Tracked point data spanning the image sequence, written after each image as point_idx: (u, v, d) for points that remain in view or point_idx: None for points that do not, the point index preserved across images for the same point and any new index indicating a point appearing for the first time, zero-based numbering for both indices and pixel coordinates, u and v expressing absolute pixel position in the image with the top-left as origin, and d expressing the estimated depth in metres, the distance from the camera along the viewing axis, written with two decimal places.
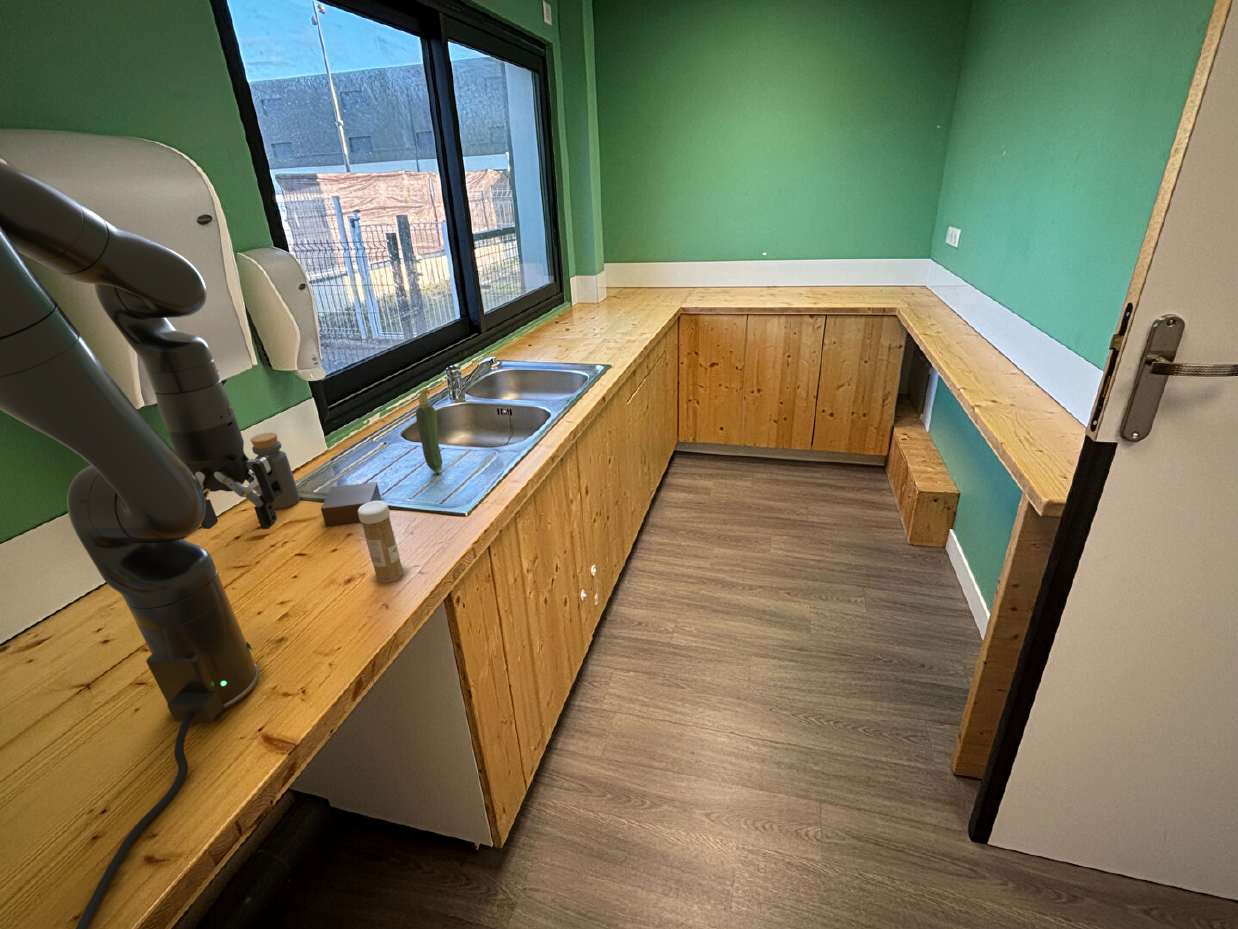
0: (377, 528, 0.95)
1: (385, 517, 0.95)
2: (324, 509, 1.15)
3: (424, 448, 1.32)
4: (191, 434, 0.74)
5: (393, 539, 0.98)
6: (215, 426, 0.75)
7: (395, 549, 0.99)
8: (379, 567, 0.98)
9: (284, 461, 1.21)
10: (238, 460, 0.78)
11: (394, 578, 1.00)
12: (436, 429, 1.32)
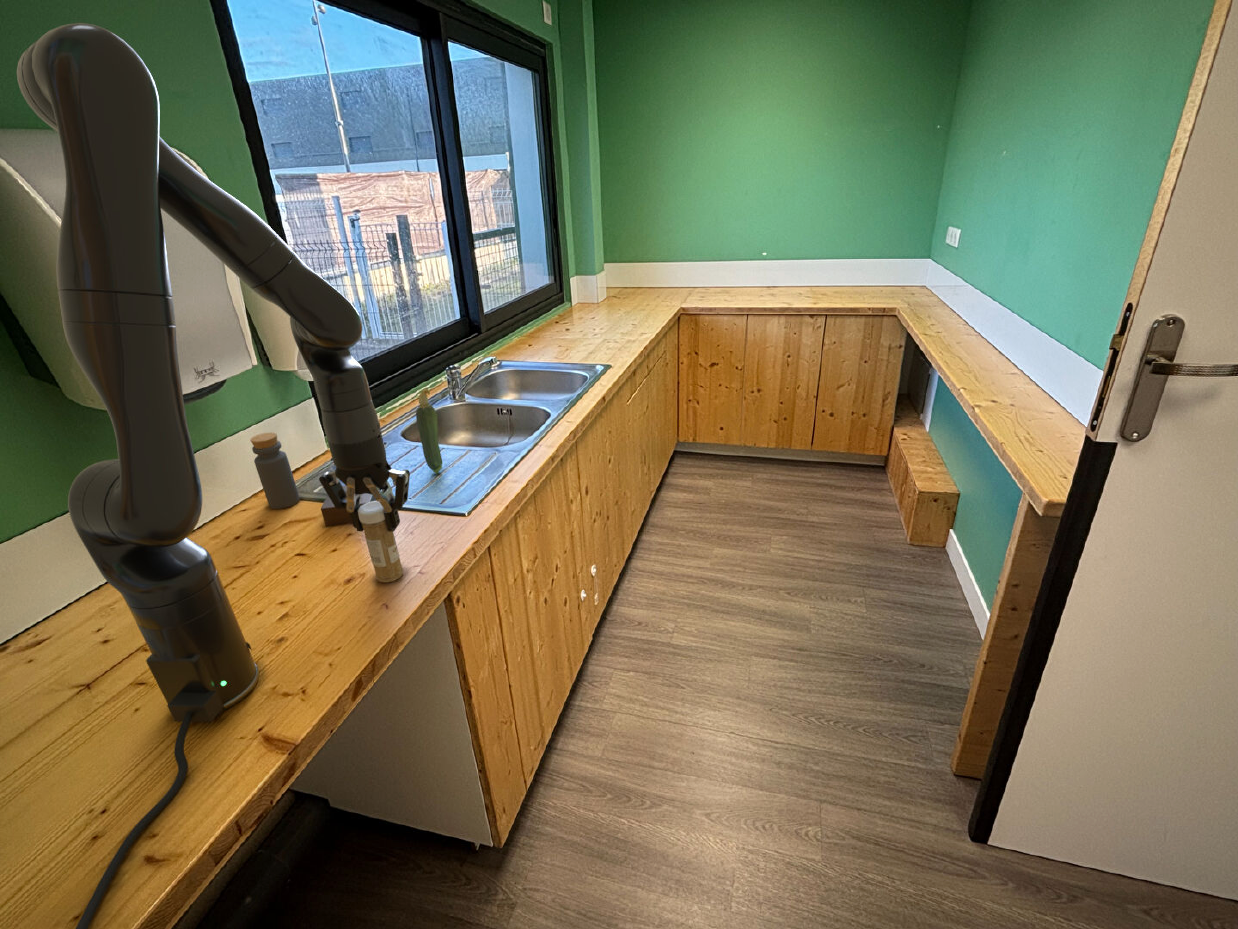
0: (377, 528, 0.95)
1: None
2: (324, 509, 1.15)
3: (424, 448, 1.32)
4: (351, 445, 0.87)
5: (393, 539, 0.98)
6: (369, 438, 0.88)
7: (395, 549, 0.99)
8: (379, 567, 0.98)
9: (285, 461, 1.21)
10: (386, 469, 0.91)
11: (394, 578, 1.00)
12: (436, 429, 1.32)
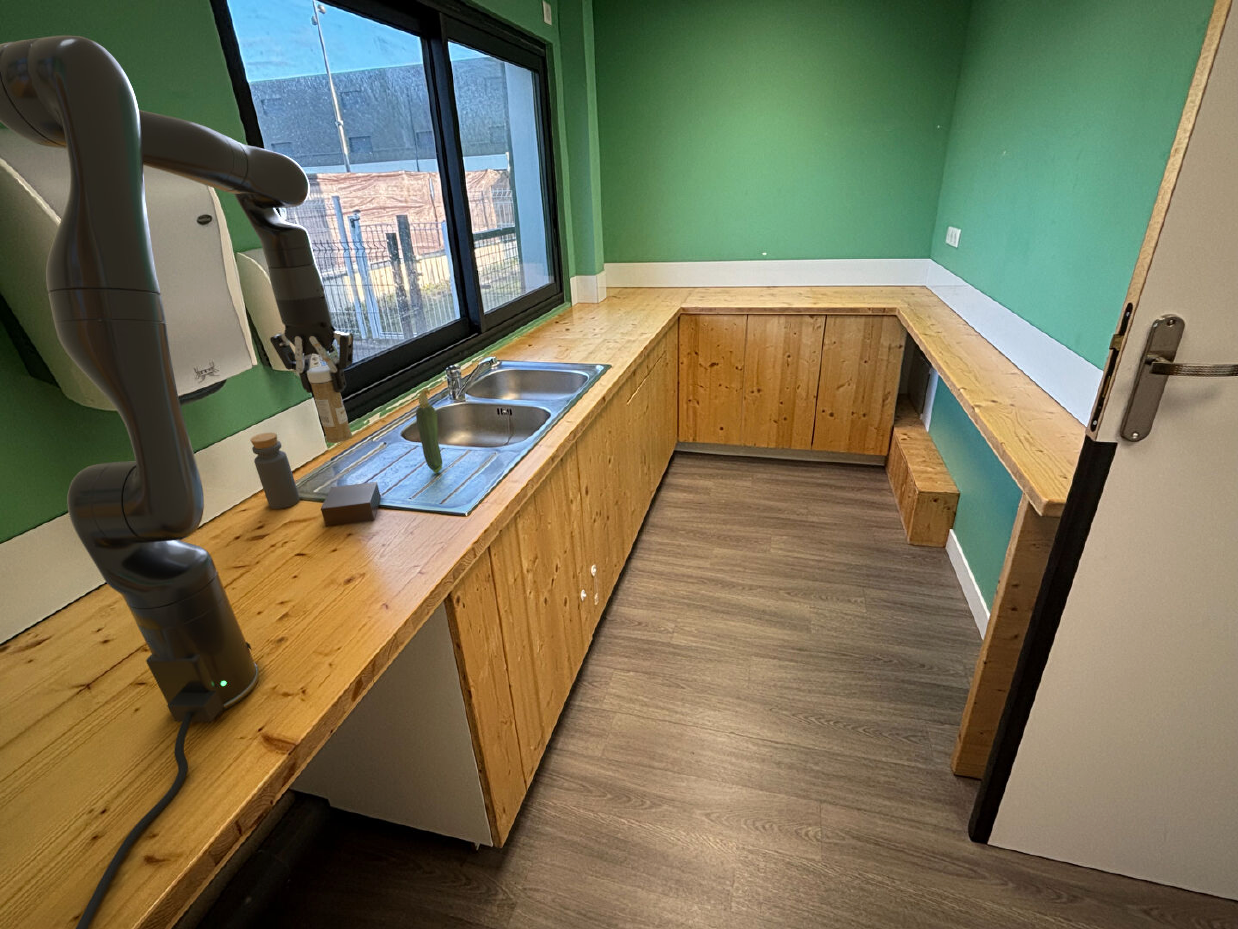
0: (324, 387, 1.04)
1: None
2: (324, 509, 1.15)
3: (424, 448, 1.32)
4: (296, 301, 0.96)
5: (341, 401, 1.07)
6: (313, 297, 0.97)
7: (343, 411, 1.08)
8: (327, 427, 1.07)
9: (285, 461, 1.21)
10: (330, 329, 1.00)
11: (342, 439, 1.09)
12: (436, 429, 1.32)
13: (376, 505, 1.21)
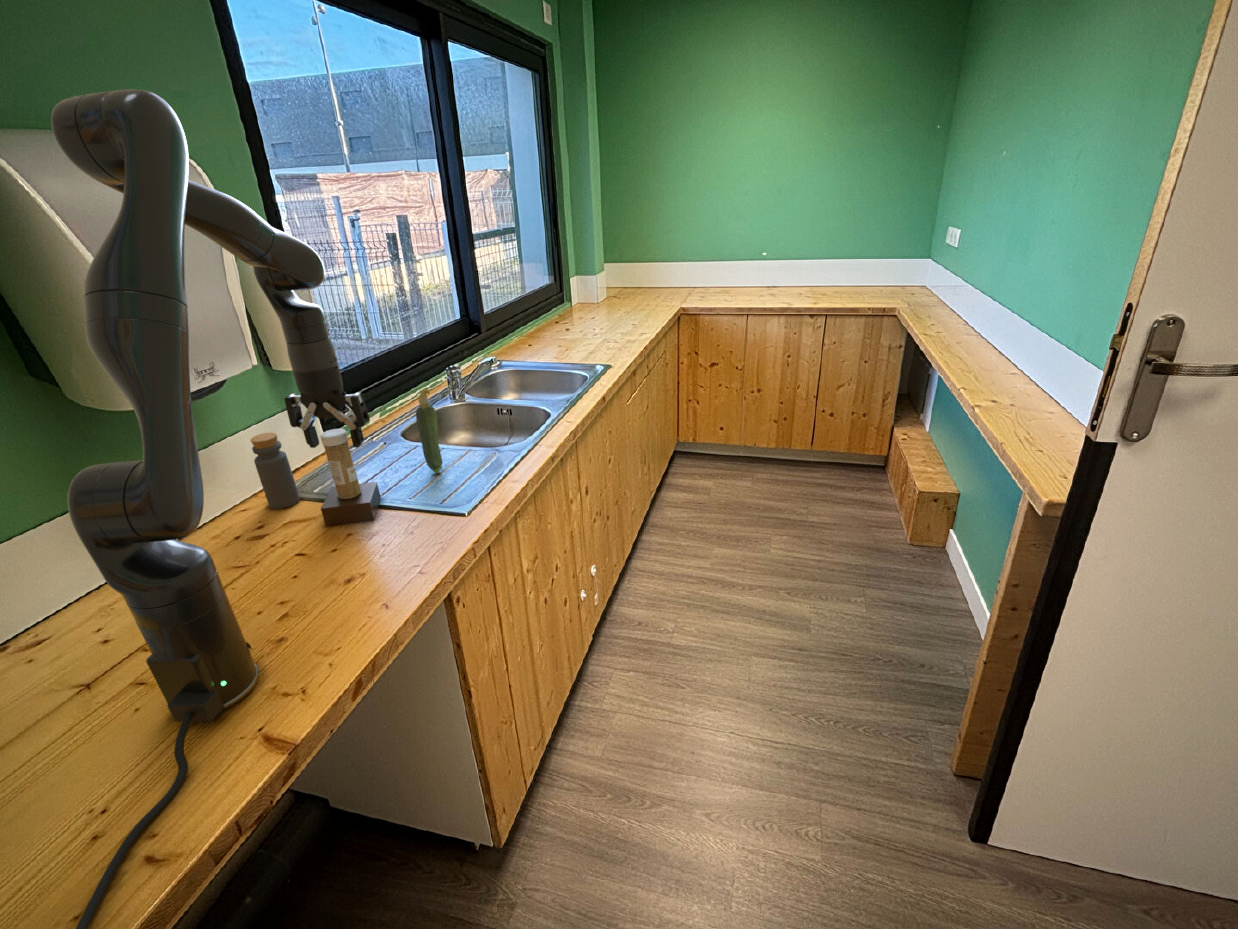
0: (336, 450, 1.13)
1: (343, 441, 1.13)
2: (324, 509, 1.15)
3: (424, 448, 1.32)
4: (311, 373, 1.05)
5: (351, 462, 1.16)
6: (327, 368, 1.06)
7: (353, 470, 1.17)
8: (339, 485, 1.16)
9: (285, 461, 1.21)
10: (340, 394, 1.09)
11: (352, 495, 1.18)
12: (436, 429, 1.32)
13: (376, 505, 1.21)
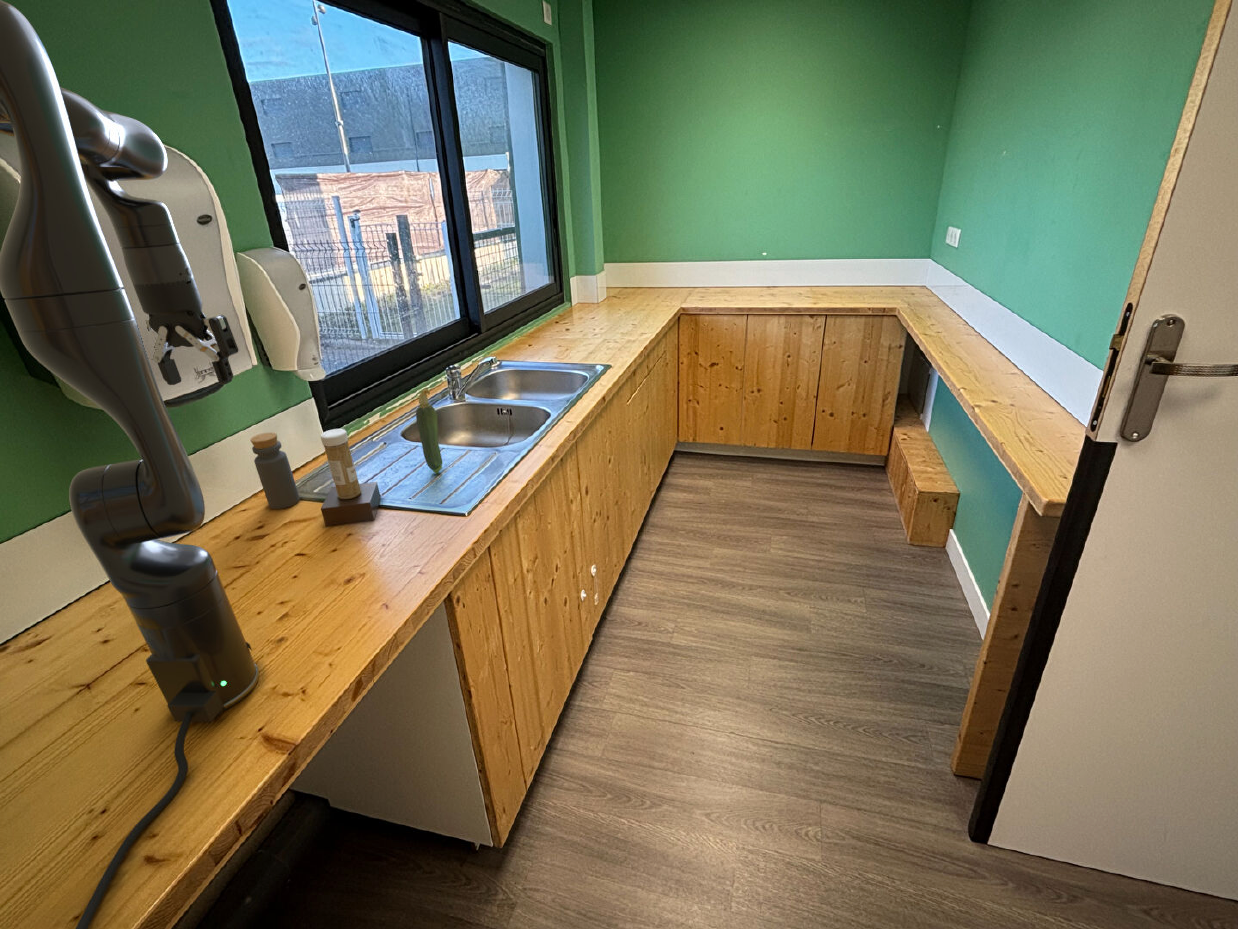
0: (336, 450, 1.13)
1: (344, 441, 1.13)
2: (324, 509, 1.15)
3: (424, 448, 1.32)
4: (154, 286, 0.85)
5: (351, 462, 1.16)
6: (174, 281, 0.86)
7: (353, 470, 1.17)
8: (339, 485, 1.16)
9: (285, 461, 1.21)
10: (196, 316, 0.90)
11: (353, 495, 1.18)
12: (436, 429, 1.32)
13: (376, 505, 1.21)
